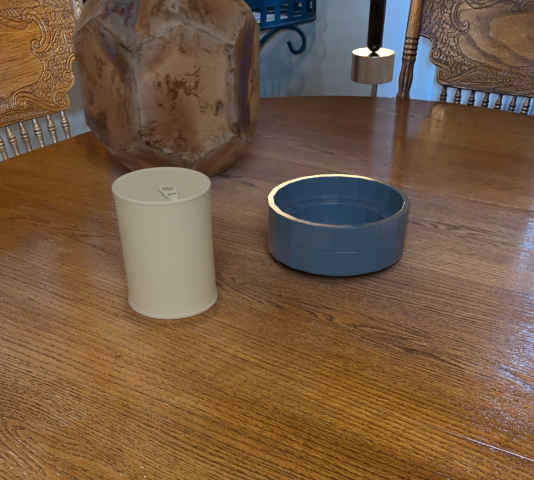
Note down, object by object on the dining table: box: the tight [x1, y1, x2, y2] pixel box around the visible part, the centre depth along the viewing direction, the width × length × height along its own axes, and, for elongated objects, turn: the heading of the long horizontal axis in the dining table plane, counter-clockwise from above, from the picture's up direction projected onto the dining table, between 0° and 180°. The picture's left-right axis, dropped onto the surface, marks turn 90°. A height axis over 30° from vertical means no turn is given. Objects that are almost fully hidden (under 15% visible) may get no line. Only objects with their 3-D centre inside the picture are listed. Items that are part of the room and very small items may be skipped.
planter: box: [71, 0, 261, 178], centre depth 93 cm, size 22×24×24 cm
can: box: [111, 167, 219, 320], centre depth 68 cm, size 9×9×12 cm
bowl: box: [266, 173, 411, 277], centre depth 78 cm, size 15×15×6 cm
